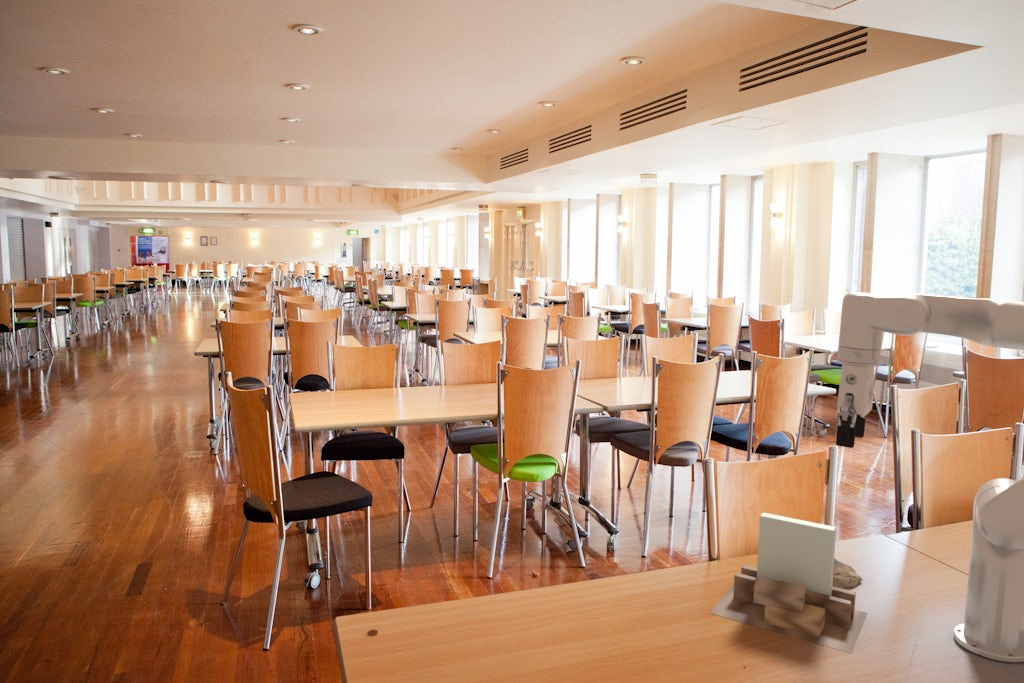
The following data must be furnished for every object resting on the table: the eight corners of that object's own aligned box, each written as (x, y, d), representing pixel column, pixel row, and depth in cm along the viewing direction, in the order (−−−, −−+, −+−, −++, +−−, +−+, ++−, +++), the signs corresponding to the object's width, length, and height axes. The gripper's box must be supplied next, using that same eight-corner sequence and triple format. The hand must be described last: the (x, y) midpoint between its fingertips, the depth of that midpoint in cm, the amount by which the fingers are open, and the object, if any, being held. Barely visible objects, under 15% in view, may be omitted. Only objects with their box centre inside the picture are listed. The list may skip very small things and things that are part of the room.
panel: (830, 614, 148) (836, 526, 146) (827, 619, 146) (833, 530, 144) (758, 595, 156) (763, 512, 154) (755, 600, 154) (759, 515, 152)
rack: (867, 620, 149) (869, 589, 148) (850, 661, 134) (853, 626, 133) (736, 586, 163) (738, 558, 162) (709, 620, 148) (710, 589, 148)
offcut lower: (824, 626, 143) (825, 608, 143) (818, 637, 139) (819, 619, 139) (771, 611, 149) (772, 595, 149) (764, 622, 145) (765, 605, 144)
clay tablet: (795, 606, 155) (871, 590, 162) (796, 583, 155) (872, 569, 161) (752, 579, 169) (824, 566, 175) (753, 558, 168) (825, 546, 175)
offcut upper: (804, 602, 145) (805, 585, 145) (802, 612, 141) (803, 595, 141) (756, 593, 149) (757, 576, 149) (753, 602, 145) (754, 585, 145)
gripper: (871, 364, 137) (862, 454, 139) (886, 353, 151) (878, 436, 153) (827, 359, 141) (819, 447, 144) (847, 349, 155) (839, 429, 158)
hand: (849, 441), depth 149 cm, fingers open, 9 cm apart
